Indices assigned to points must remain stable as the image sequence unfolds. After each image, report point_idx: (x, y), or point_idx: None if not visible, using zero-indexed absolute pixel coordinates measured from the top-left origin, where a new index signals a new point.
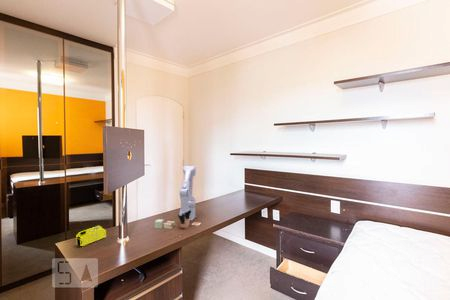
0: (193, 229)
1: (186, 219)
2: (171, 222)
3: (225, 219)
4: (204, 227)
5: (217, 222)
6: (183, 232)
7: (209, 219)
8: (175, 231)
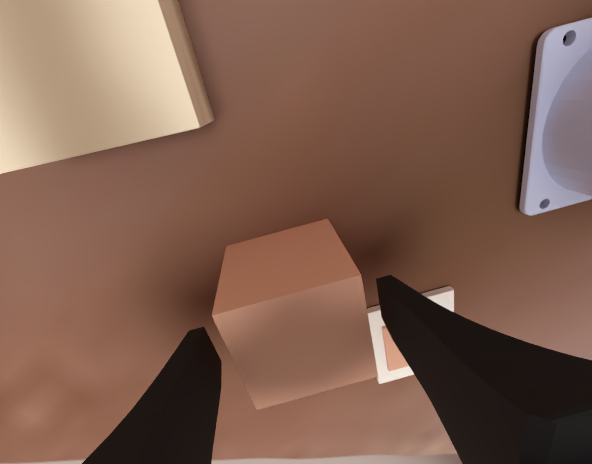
0: None
1: (339, 352)
2: (97, 78)
3: None
4: (359, 435)
5: None
6: (127, 380)
7: (580, 355)
8: (64, 291)
